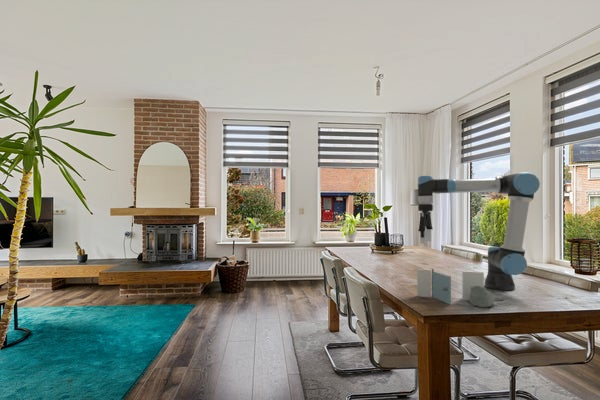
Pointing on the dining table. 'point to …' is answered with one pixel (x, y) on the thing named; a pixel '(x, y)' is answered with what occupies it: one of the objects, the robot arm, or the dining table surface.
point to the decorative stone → (481, 297)
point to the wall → (467, 282)
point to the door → (442, 287)
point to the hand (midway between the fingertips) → (425, 242)
